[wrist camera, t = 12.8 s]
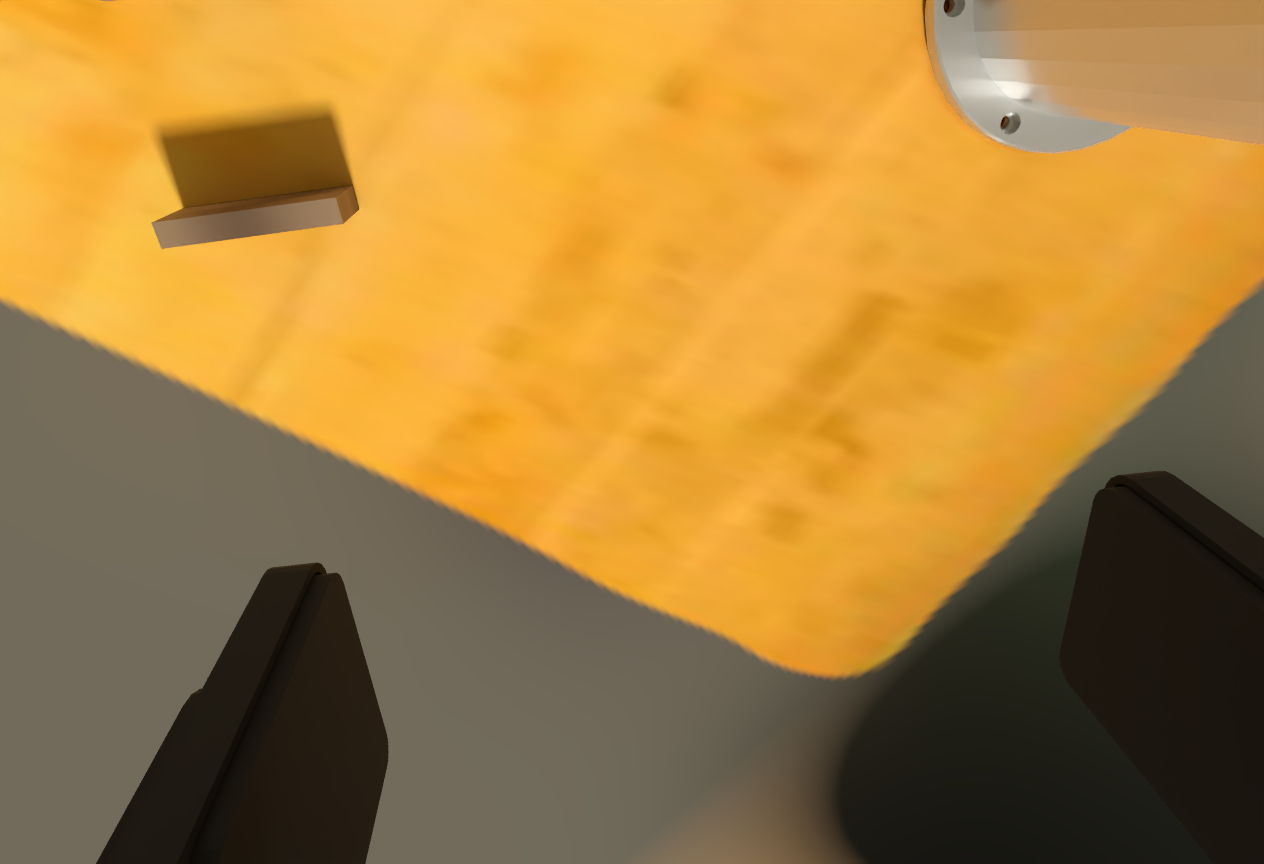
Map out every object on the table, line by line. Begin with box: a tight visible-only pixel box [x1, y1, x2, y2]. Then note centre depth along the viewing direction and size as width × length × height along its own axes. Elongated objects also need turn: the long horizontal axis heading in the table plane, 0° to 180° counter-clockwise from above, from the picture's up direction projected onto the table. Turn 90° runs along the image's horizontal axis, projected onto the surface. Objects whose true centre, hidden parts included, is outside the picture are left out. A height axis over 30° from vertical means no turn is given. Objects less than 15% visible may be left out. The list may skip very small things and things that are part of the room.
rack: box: [102, 0, 359, 249], centre depth 30 cm, size 7×10×3 cm
